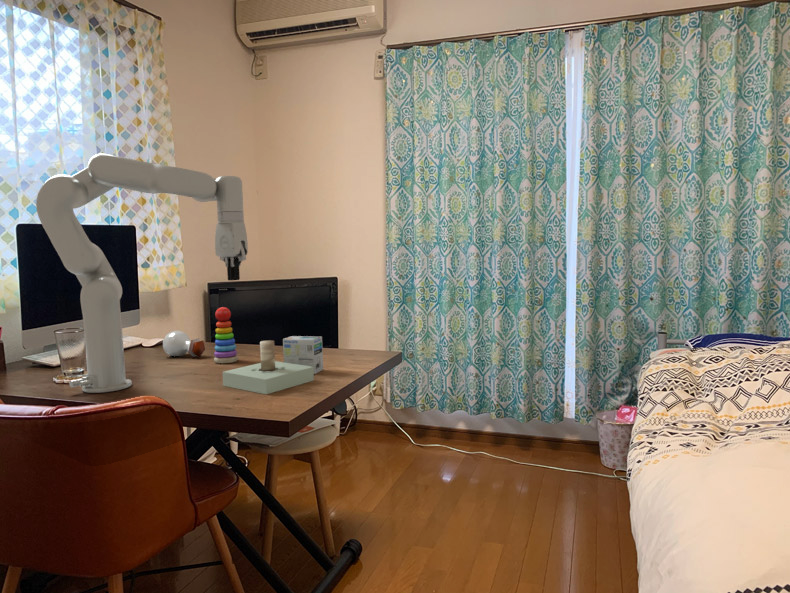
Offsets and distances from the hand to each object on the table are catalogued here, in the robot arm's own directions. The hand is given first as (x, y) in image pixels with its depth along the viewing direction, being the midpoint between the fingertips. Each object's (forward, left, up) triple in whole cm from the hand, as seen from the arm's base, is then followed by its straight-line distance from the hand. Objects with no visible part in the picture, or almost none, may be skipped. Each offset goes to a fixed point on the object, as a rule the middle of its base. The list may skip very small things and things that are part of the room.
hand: (233, 280), depth 174 cm
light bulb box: (+14, -14, -29) cm, 35 cm away
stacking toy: (+11, +20, -29) cm, 37 cm away
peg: (-2, -16, -29) cm, 33 cm away
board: (-2, -16, -29) cm, 33 cm away
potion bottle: (+9, +42, -29) cm, 52 cm away
